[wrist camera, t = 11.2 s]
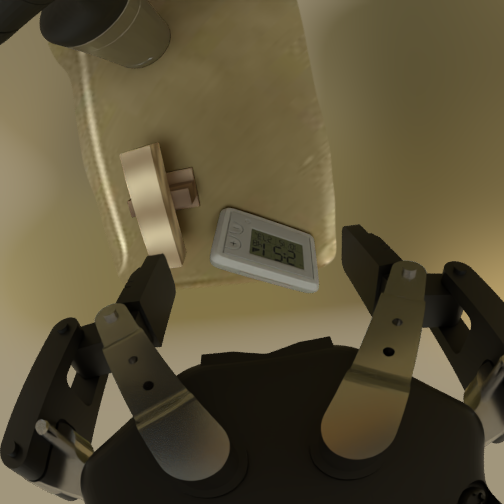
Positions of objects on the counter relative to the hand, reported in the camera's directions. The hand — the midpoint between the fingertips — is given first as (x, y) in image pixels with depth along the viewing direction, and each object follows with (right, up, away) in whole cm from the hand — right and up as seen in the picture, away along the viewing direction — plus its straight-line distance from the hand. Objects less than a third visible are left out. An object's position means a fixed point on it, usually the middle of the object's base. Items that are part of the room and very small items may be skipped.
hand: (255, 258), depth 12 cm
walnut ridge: (-13, +10, +28) cm, 33 cm away
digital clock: (+2, +3, +33) cm, 33 cm away
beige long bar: (-13, +7, +23) cm, 27 cm away
